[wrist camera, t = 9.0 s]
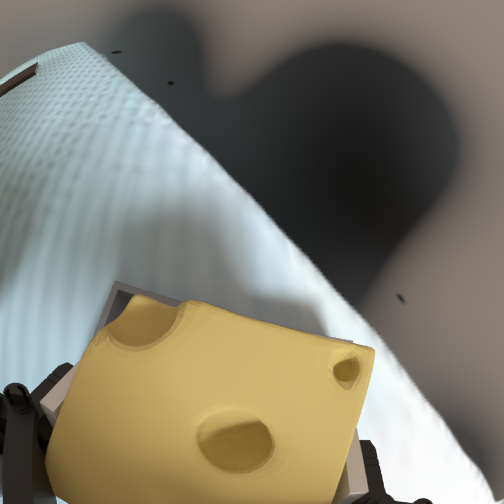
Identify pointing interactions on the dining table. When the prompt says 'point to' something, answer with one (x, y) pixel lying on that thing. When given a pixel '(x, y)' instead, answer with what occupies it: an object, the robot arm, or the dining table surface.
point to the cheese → (206, 411)
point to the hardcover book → (18, 79)
